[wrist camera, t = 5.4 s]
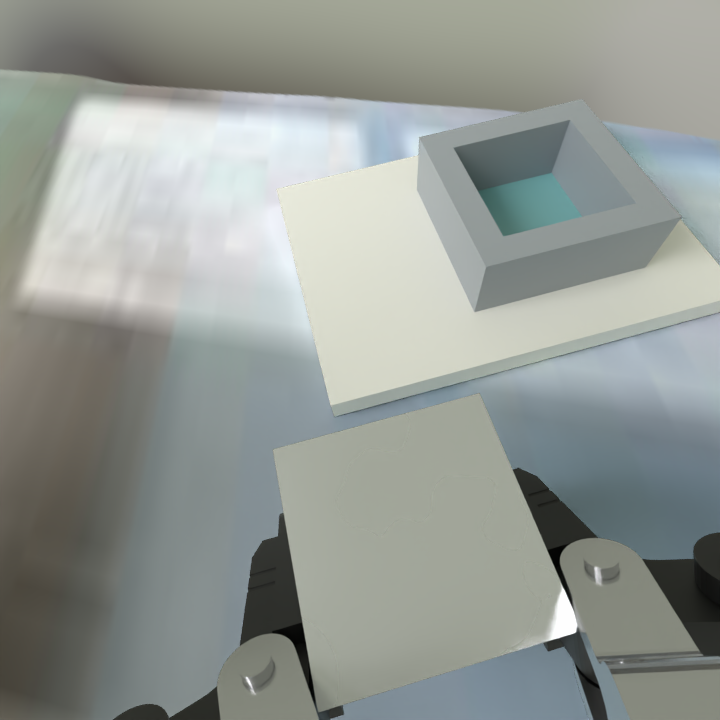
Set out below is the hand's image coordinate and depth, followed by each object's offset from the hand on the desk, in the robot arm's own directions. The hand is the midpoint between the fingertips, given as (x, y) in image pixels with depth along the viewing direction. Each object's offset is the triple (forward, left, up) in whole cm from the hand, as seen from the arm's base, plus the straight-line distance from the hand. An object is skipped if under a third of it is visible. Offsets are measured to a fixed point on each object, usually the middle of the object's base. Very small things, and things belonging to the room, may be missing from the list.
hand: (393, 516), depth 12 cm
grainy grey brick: (0, -1, -6) cm, 6 cm away
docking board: (+8, +12, -6) cm, 16 cm away
